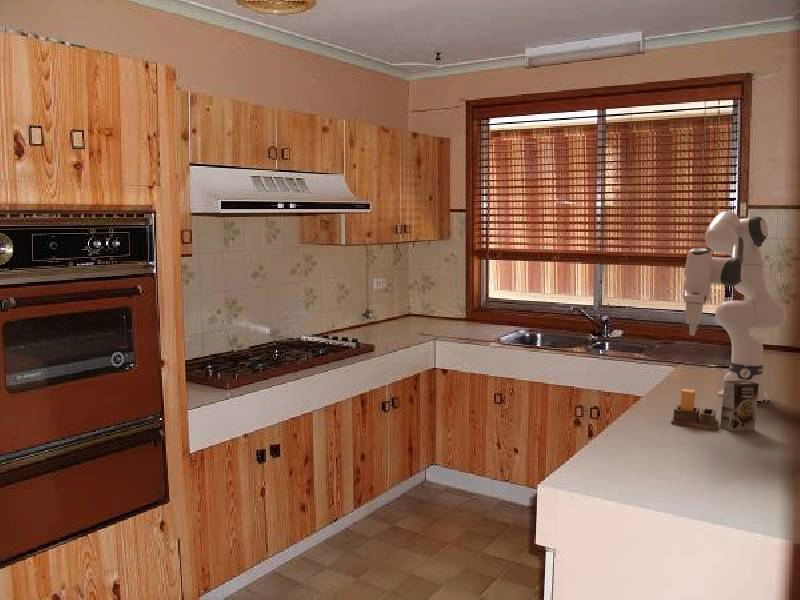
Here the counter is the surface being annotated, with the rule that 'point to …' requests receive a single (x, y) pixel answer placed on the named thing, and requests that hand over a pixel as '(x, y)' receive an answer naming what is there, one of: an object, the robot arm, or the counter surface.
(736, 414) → the coffee box
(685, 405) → the square peg
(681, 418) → the socket holder
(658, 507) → the counter surface
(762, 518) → the counter surface
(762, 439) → the counter surface
